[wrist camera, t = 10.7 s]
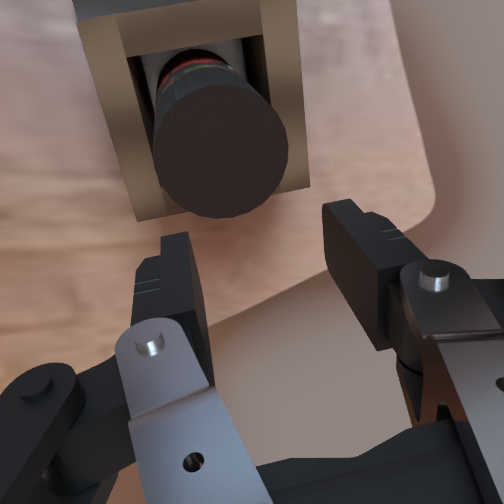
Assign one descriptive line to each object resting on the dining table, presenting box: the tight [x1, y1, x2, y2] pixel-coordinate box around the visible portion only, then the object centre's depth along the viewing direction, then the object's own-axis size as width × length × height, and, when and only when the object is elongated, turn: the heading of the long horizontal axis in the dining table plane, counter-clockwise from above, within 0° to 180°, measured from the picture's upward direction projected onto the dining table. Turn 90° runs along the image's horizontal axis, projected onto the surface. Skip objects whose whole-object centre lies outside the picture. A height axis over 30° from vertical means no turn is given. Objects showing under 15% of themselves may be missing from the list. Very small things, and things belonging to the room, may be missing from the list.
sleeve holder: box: [72, 0, 310, 222], centre depth 30 cm, size 14×14×9 cm
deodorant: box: [153, 49, 289, 219], centre depth 26 cm, size 6×6×15 cm
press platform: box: [141, 38, 247, 112], centre depth 32 cm, size 7×7×1 cm
